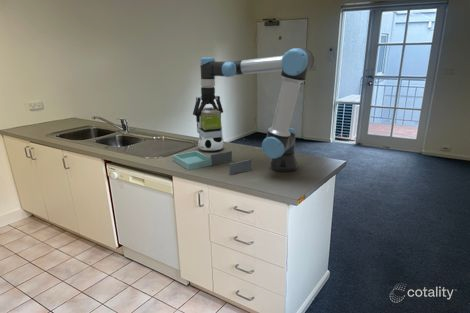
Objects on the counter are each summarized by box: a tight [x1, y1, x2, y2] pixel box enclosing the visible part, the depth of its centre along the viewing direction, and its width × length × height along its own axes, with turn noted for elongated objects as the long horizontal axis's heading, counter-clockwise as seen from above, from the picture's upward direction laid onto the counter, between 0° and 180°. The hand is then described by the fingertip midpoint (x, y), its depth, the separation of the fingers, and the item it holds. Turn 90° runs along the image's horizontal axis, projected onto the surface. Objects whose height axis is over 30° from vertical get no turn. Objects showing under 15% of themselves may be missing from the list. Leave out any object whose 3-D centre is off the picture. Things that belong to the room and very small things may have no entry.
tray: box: [172, 150, 213, 171], centre depth 192 cm, size 21×16×4 cm
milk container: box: [197, 122, 225, 153], centre depth 217 cm, size 17×17×18 cm
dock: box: [210, 150, 253, 176], centre depth 184 cm, size 21×14×6 cm, turn 34°
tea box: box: [196, 106, 222, 139], centre depth 182 cm, size 15×10×15 cm, turn 23°
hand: (208, 126), depth 182 cm, fingers closed on tea box, 11 cm apart
